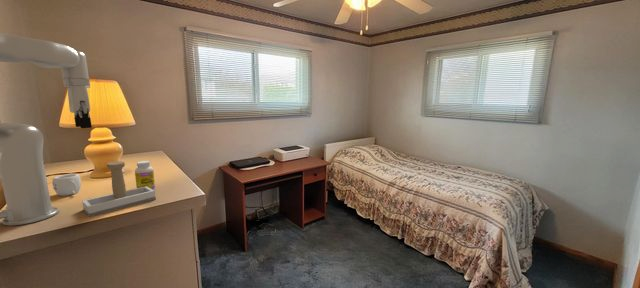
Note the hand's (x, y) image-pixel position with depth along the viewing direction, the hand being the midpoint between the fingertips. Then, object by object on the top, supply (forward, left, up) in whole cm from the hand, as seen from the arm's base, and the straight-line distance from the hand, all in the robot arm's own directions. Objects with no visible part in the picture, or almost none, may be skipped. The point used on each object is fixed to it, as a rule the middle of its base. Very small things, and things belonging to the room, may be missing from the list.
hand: (83, 127), depth 102 cm
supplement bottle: (+15, -12, -28) cm, 35 cm away
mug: (-6, +8, -29) cm, 30 cm away
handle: (+4, -22, -28) cm, 35 cm away
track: (+4, -22, -28) cm, 36 cm away
